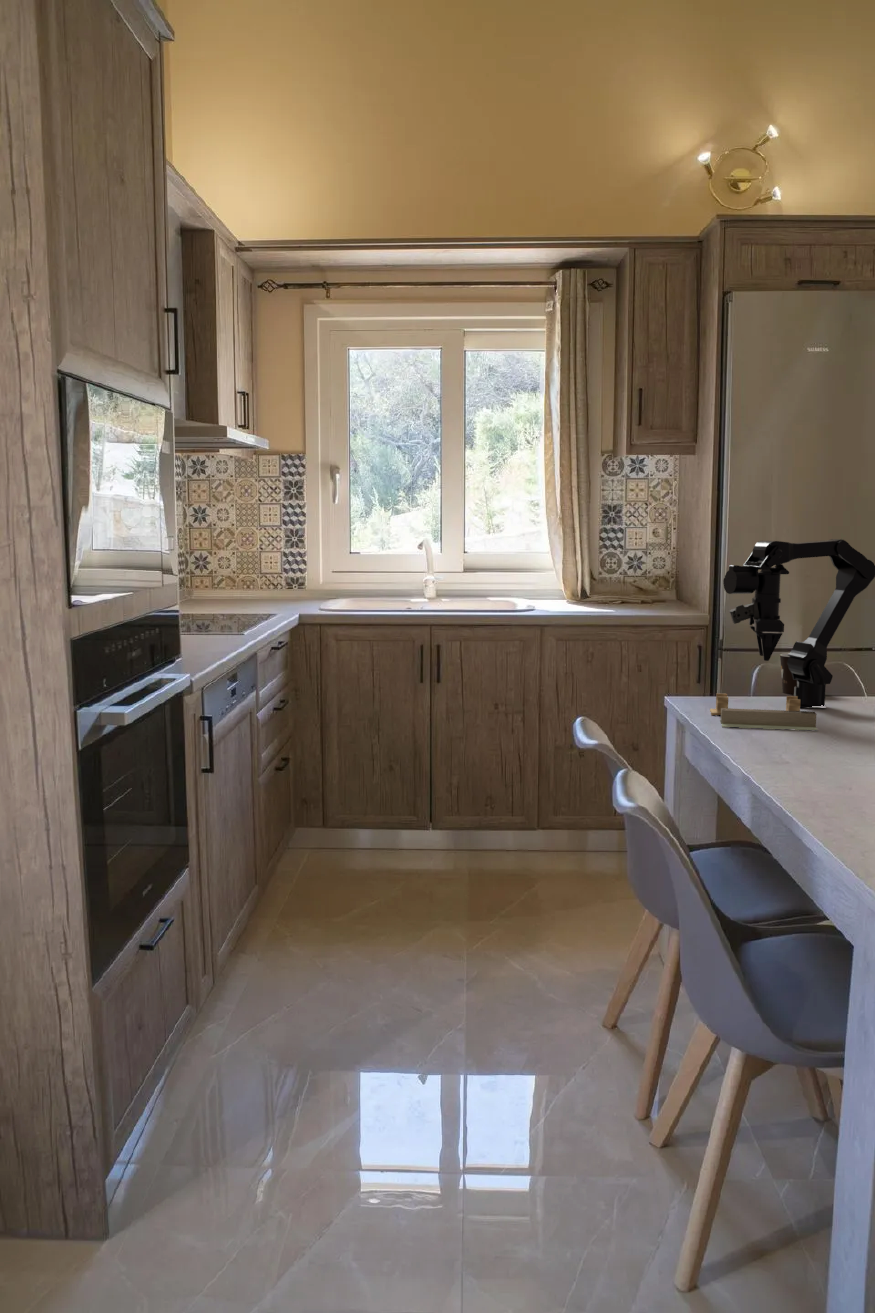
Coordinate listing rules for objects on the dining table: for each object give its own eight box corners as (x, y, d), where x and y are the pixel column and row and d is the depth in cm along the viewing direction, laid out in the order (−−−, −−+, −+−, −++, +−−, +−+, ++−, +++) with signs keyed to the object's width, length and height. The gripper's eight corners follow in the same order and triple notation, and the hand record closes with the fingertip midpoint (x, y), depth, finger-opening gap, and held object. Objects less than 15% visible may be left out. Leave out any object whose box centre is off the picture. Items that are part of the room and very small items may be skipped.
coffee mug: (806, 696, 261) (808, 658, 260) (773, 693, 266) (775, 655, 265) (820, 690, 270) (822, 653, 269) (788, 687, 276) (789, 651, 274)
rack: (801, 714, 237) (802, 696, 236) (805, 719, 231) (806, 700, 231) (709, 711, 241) (710, 692, 240) (711, 715, 236) (712, 696, 235)
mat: (812, 724, 225) (812, 723, 225) (817, 731, 218) (817, 729, 218) (720, 721, 229) (720, 719, 229) (722, 727, 222) (722, 725, 222)
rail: (813, 724, 223) (814, 711, 222) (815, 727, 220) (816, 713, 220) (720, 721, 227) (720, 708, 226) (721, 723, 224) (721, 710, 224)
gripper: (729, 590, 251) (726, 652, 253) (735, 595, 232) (732, 662, 234) (775, 591, 248) (772, 653, 250) (785, 596, 230) (782, 663, 232)
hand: (764, 658), depth 242 cm, fingers open, 9 cm apart
